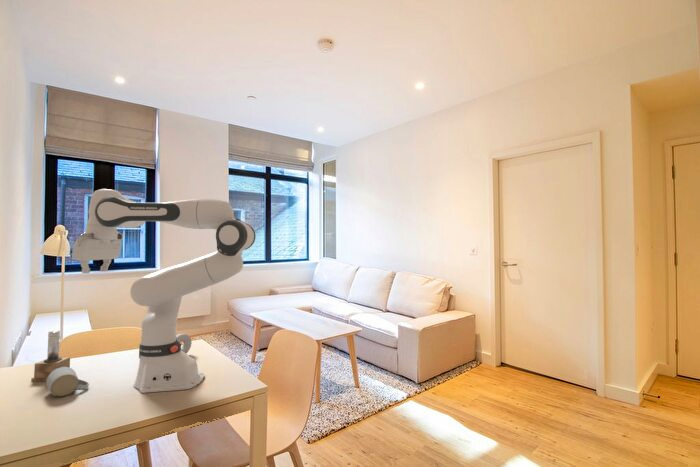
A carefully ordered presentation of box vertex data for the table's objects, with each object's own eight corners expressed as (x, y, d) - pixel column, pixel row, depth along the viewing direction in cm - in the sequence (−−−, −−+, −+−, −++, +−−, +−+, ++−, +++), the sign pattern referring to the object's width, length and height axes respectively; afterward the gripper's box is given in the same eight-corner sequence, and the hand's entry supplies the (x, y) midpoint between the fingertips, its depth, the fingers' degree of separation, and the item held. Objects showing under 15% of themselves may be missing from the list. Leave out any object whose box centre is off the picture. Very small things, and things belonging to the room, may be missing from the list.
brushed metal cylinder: (60, 357, 128) (62, 330, 128) (54, 360, 125) (55, 332, 125) (52, 357, 128) (53, 330, 128) (44, 360, 124) (46, 332, 125)
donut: (172, 360, 145) (173, 336, 146) (167, 359, 147) (168, 335, 147) (193, 354, 154) (193, 331, 155) (187, 352, 156) (188, 330, 156)
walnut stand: (71, 372, 130) (72, 355, 130) (54, 381, 122) (55, 362, 122) (49, 372, 130) (50, 355, 130) (31, 381, 122) (32, 363, 122)
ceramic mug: (49, 401, 107) (51, 376, 107) (45, 393, 112) (47, 369, 113) (91, 391, 115) (92, 367, 115) (85, 384, 120) (86, 362, 121)
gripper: (89, 233, 113) (83, 275, 113) (126, 235, 134) (121, 271, 133) (69, 231, 113) (63, 273, 113) (109, 233, 134) (104, 269, 133)
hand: (95, 272), depth 123 cm, fingers open, 8 cm apart
